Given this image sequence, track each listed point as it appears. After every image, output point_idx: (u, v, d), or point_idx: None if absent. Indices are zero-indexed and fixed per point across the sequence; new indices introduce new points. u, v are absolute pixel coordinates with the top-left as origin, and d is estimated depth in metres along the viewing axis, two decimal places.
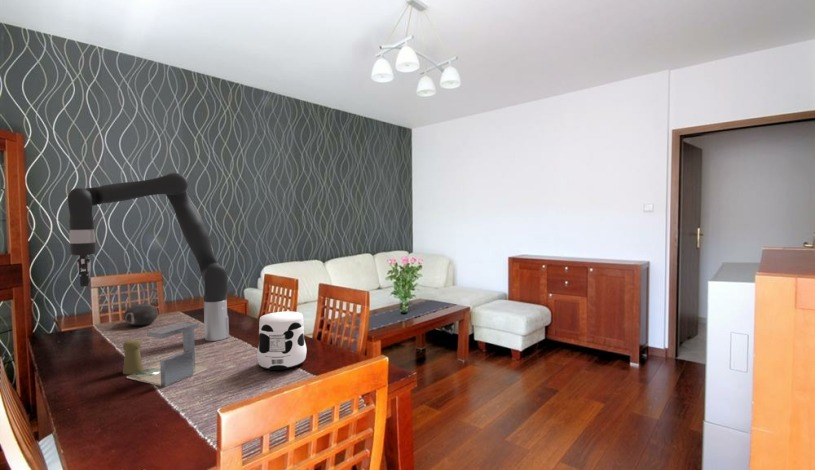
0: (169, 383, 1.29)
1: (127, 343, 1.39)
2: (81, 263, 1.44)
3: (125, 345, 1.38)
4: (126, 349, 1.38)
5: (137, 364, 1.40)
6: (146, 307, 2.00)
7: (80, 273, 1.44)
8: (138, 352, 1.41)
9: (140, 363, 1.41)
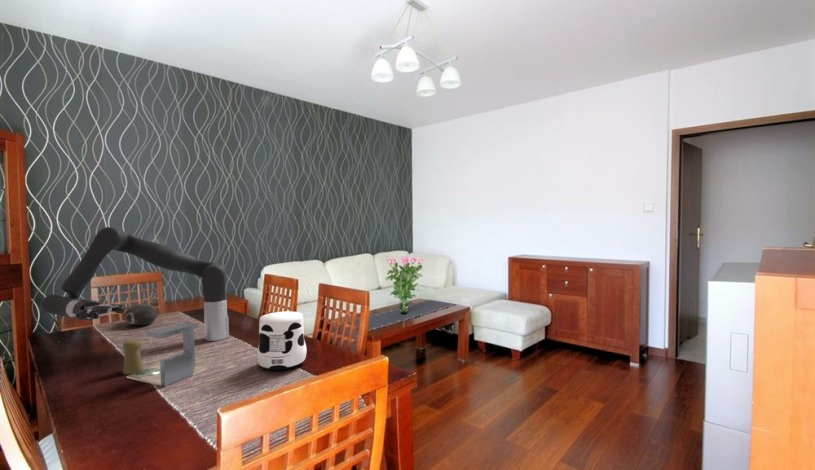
0: (169, 383, 1.29)
1: (127, 343, 1.39)
2: (74, 316, 1.42)
3: (125, 345, 1.38)
4: (126, 349, 1.38)
5: (137, 364, 1.40)
6: (146, 307, 2.00)
7: (80, 318, 1.40)
8: (138, 352, 1.41)
9: (140, 363, 1.41)
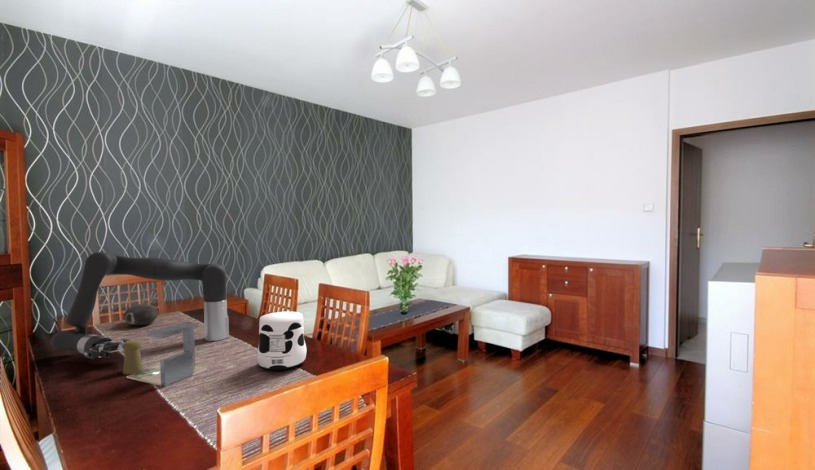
0: (169, 383, 1.29)
1: (127, 343, 1.39)
2: (86, 355, 1.40)
3: (125, 345, 1.38)
4: (126, 349, 1.38)
5: (137, 364, 1.40)
6: (146, 307, 2.00)
7: (91, 357, 1.39)
8: (138, 352, 1.41)
9: (140, 363, 1.41)
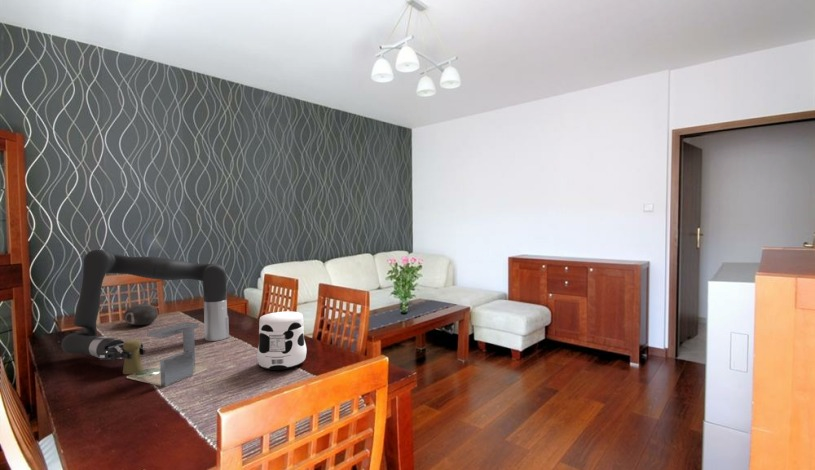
0: (169, 383, 1.29)
1: (127, 343, 1.39)
2: (103, 357, 1.37)
3: (125, 345, 1.39)
4: (126, 349, 1.38)
5: (137, 364, 1.40)
6: (146, 307, 2.00)
7: (113, 359, 1.37)
8: (138, 352, 1.41)
9: (140, 363, 1.41)
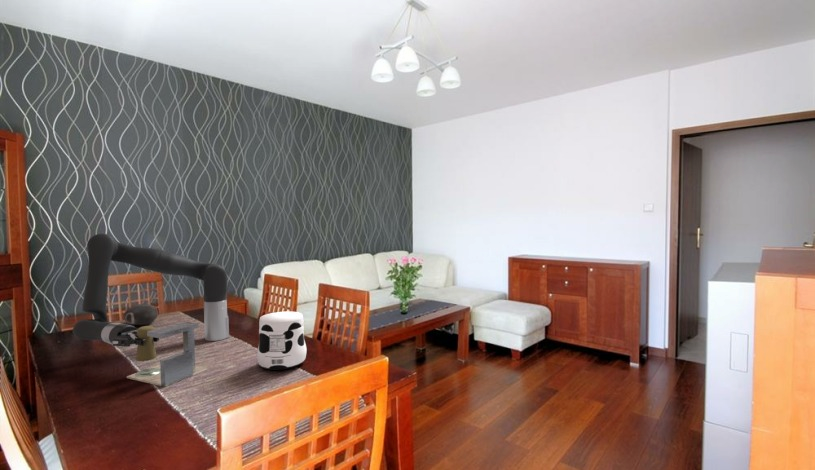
0: (169, 383, 1.29)
1: (141, 329, 1.35)
2: (116, 343, 1.34)
3: (139, 331, 1.35)
4: (140, 335, 1.35)
5: (150, 351, 1.37)
6: (146, 307, 2.00)
7: (126, 345, 1.34)
8: (152, 339, 1.38)
9: (153, 350, 1.38)
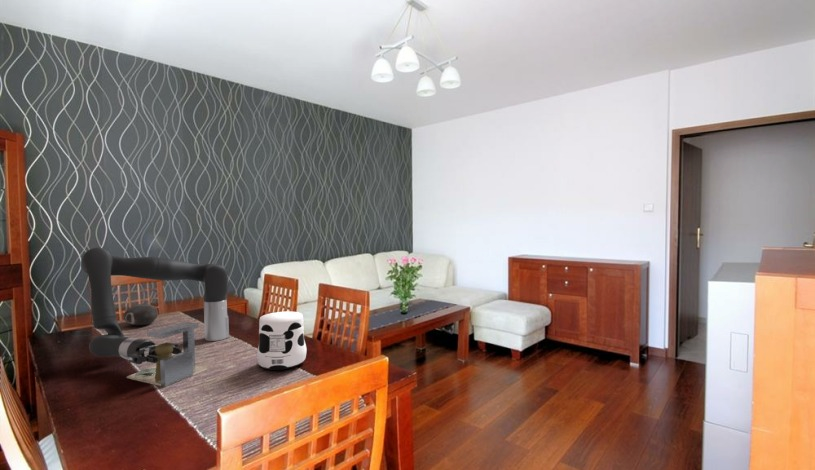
0: (169, 383, 1.29)
1: (159, 347, 1.32)
2: (131, 360, 1.31)
3: (157, 349, 1.32)
4: (158, 353, 1.32)
5: None
6: (146, 307, 2.00)
7: (137, 363, 1.29)
8: None
9: None
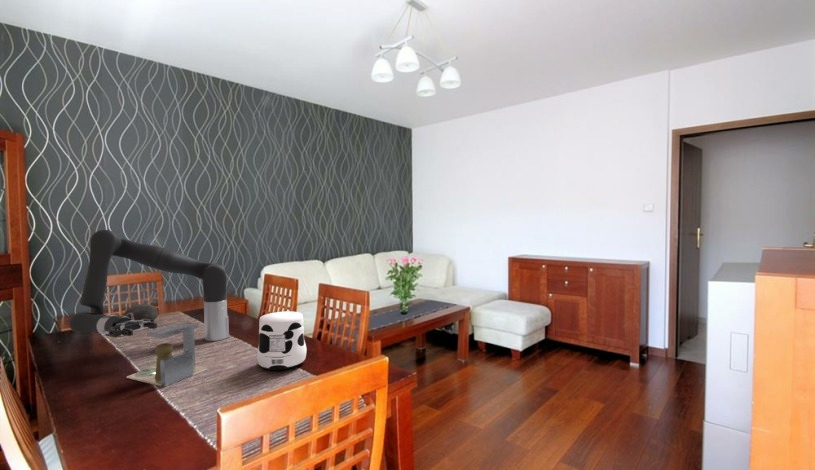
0: (169, 383, 1.29)
1: (159, 347, 1.32)
2: (107, 333, 1.38)
3: (157, 349, 1.32)
4: (158, 353, 1.32)
5: None
6: (146, 307, 2.00)
7: (113, 336, 1.36)
8: None
9: None
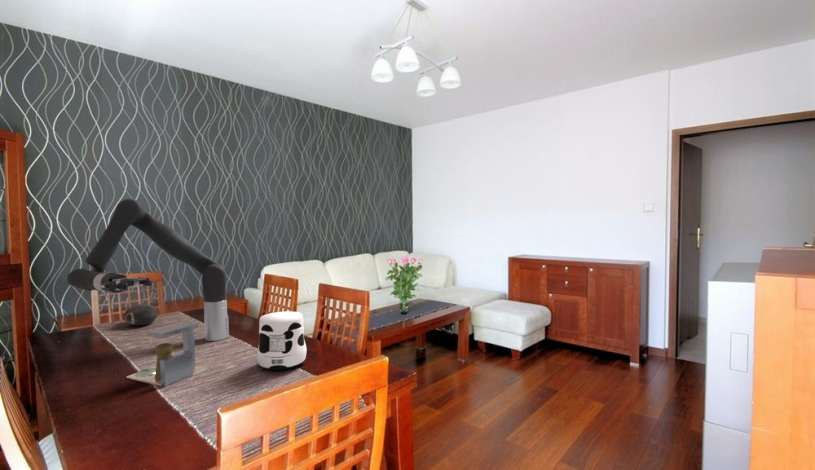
0: (169, 383, 1.29)
1: (159, 347, 1.32)
2: (103, 287, 1.41)
3: (157, 349, 1.32)
4: (158, 353, 1.32)
5: None
6: (146, 307, 2.00)
7: (109, 289, 1.40)
8: None
9: None
